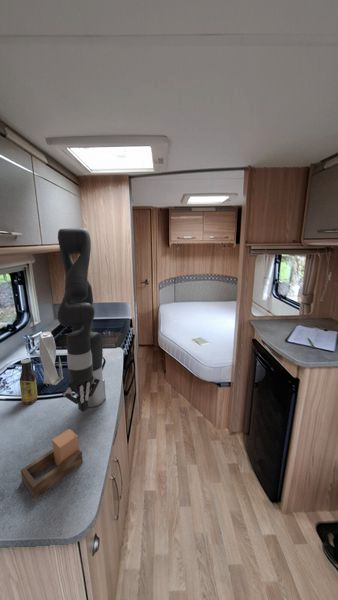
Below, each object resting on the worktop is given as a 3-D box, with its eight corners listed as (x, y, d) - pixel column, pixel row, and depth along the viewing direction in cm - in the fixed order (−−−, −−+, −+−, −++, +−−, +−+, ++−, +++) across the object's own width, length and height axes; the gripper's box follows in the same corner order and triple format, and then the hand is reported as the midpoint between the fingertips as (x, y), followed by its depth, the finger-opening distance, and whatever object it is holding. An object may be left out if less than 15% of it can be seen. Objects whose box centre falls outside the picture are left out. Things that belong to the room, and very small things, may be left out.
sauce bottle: (18, 404, 109) (12, 363, 104) (29, 395, 115) (23, 356, 110) (31, 406, 108) (26, 365, 103) (41, 397, 114) (36, 358, 109)
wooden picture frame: (69, 448, 86) (68, 439, 85) (82, 461, 81) (81, 451, 80) (22, 480, 74) (20, 470, 74) (35, 498, 69) (33, 487, 68)
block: (71, 450, 85) (69, 428, 83) (79, 458, 82) (77, 436, 80) (54, 462, 80) (52, 439, 78) (62, 471, 77) (60, 447, 75)
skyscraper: (54, 387, 122) (48, 334, 115) (39, 385, 123) (32, 333, 117) (64, 378, 130) (59, 328, 123) (50, 376, 131) (44, 327, 125)
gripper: (91, 353, 87) (93, 396, 90) (54, 367, 77) (59, 415, 80) (104, 359, 82) (106, 405, 86) (66, 375, 72) (71, 426, 76)
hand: (83, 410), depth 83 cm, fingers closed
